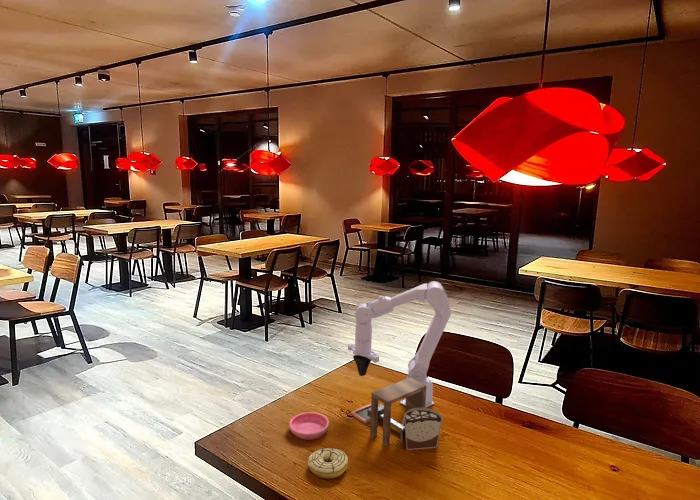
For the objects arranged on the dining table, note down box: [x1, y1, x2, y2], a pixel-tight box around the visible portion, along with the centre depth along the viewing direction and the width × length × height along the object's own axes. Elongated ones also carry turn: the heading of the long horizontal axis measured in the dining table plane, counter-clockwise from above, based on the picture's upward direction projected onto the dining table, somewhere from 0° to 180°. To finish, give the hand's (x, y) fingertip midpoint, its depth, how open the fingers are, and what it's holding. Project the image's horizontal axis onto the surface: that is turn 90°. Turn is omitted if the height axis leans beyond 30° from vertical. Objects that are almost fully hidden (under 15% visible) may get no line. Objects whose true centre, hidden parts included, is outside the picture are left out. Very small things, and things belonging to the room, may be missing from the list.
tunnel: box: [369, 378, 427, 447], centre depth 138 cm, size 17×7×14 cm, turn 129°
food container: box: [401, 407, 444, 451], centre depth 132 cm, size 12×6×10 cm, turn 100°
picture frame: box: [350, 403, 380, 425], centre depth 149 cm, size 11×8×1 cm
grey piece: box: [367, 403, 406, 442], centre depth 140 cm, size 8×17×4 cm, turn 39°
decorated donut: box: [307, 447, 349, 480], centre depth 120 cm, size 10×11×4 cm
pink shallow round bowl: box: [288, 411, 330, 441], centre depth 138 cm, size 12×12×3 cm
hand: (362, 374), depth 157 cm, fingers closed
